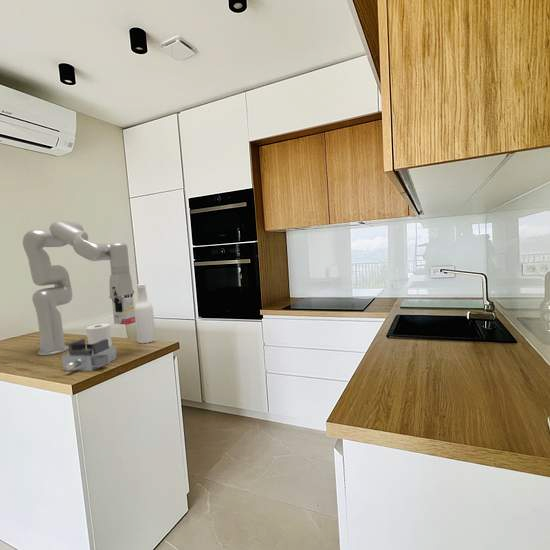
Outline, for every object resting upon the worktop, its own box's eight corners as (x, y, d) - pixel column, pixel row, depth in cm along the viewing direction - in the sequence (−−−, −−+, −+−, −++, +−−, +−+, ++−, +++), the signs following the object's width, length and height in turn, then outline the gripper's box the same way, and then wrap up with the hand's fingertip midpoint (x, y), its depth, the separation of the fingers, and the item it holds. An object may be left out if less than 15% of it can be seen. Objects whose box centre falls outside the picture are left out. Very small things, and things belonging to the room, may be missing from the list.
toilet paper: (115, 349, 158) (112, 325, 157) (91, 355, 151) (88, 329, 150) (109, 345, 166) (106, 322, 165) (86, 351, 159) (83, 326, 158)
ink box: (136, 322, 150) (134, 296, 148) (127, 325, 145) (125, 298, 144) (122, 321, 153) (120, 296, 152) (113, 323, 149) (111, 298, 147)
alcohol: (144, 344, 163) (138, 285, 161) (134, 342, 168) (128, 285, 166) (159, 339, 171) (153, 283, 168) (148, 338, 176) (143, 283, 173)
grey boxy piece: (53, 374, 129) (50, 349, 128) (90, 358, 147) (87, 336, 146) (91, 375, 125) (88, 350, 124) (123, 359, 143) (121, 336, 142)
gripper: (126, 269, 156) (129, 306, 158) (98, 272, 139) (102, 314, 141) (139, 269, 154) (142, 306, 156) (113, 272, 138) (117, 314, 139)
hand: (123, 310), depth 149 cm, fingers closed on ink box, 5 cm apart
